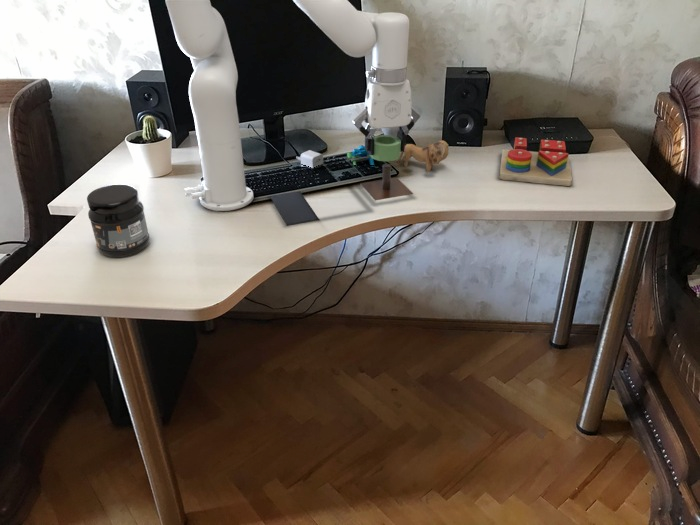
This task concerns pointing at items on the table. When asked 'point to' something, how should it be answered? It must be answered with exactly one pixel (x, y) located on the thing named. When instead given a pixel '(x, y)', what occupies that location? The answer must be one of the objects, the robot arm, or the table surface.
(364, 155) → the dinosaur figurine
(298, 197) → the mat
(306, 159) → the usb wall charger
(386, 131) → the lightbulb
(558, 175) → the shape sorter
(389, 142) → the ring
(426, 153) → the lion figurine
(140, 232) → the supplement container
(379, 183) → the stand
